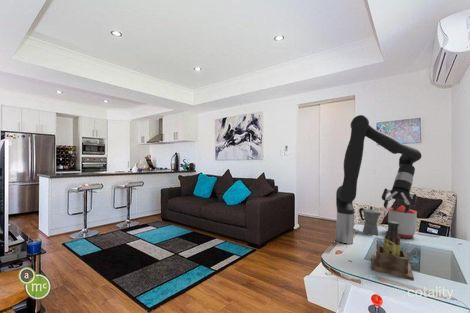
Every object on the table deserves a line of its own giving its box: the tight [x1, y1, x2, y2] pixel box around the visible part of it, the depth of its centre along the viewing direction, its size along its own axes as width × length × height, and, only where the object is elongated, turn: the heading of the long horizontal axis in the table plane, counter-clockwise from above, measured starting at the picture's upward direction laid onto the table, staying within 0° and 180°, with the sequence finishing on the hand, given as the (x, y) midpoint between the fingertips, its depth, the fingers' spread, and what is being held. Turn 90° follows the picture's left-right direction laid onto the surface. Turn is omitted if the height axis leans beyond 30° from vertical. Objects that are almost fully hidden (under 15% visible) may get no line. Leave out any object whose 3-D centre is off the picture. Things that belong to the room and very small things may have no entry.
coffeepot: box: [358, 206, 382, 236], centre depth 155 cm, size 15×9×18 cm, turn 25°
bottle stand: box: [371, 244, 415, 281], centre depth 105 cm, size 15×16×7 cm
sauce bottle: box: [383, 221, 401, 257], centre depth 106 cm, size 6×6×20 cm
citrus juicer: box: [387, 205, 418, 239], centre depth 152 cm, size 16×17×20 cm
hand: (395, 210), depth 116 cm, fingers open, 8 cm apart
